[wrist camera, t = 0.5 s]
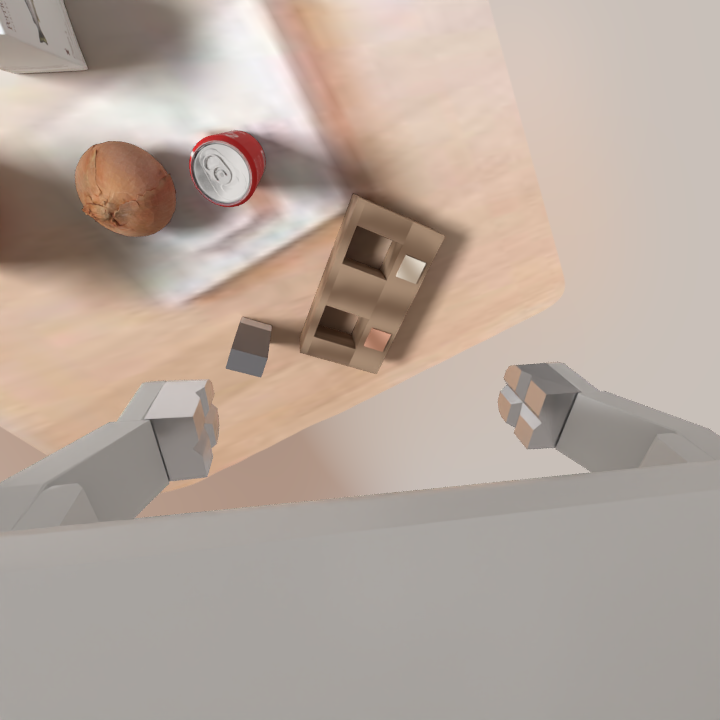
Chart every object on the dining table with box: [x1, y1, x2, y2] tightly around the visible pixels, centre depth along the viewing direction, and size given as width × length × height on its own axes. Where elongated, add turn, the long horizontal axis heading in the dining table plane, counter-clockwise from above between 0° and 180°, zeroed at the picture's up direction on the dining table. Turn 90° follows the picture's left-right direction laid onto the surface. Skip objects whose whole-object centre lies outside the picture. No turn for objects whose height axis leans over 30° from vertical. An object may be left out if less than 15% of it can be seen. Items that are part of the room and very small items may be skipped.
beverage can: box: [189, 130, 266, 207], centre depth 37 cm, size 6×6×15 cm
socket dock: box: [300, 193, 445, 374], centre depth 51 cm, size 22×12×5 cm, turn 157°
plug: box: [226, 317, 272, 377], centre depth 50 cm, size 3×4×10 cm, turn 67°
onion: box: [75, 141, 176, 237], centre depth 40 cm, size 10×9×10 cm
